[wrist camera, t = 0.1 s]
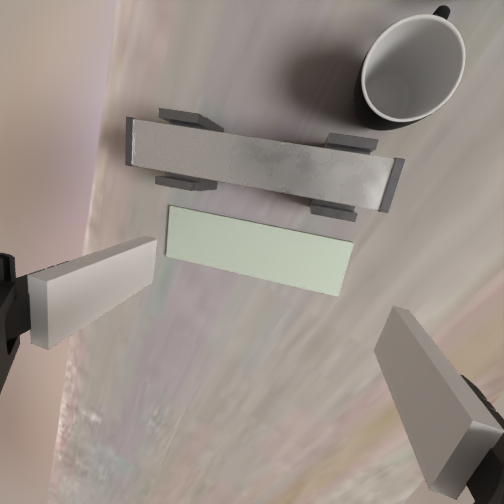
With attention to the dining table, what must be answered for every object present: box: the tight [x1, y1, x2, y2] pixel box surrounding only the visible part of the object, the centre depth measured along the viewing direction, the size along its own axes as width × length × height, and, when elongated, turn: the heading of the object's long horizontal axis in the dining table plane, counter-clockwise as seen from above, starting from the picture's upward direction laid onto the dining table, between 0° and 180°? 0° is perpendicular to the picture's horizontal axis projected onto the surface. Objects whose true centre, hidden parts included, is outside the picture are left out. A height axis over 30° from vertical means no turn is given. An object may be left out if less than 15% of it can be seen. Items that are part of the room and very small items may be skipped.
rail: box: [125, 117, 405, 213], centre depth 30 cm, size 30×5×5 cm, turn 80°
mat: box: [166, 205, 354, 297], centre depth 43 cm, size 9×30×1 cm, turn 80°
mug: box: [354, 5, 465, 130], centre depth 29 cm, size 12×9×10 cm
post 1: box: [155, 108, 224, 191], centre depth 36 cm, size 9×5×10 cm, turn 170°
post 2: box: [310, 133, 378, 222], centre depth 33 cm, size 9×5×10 cm, turn 170°
